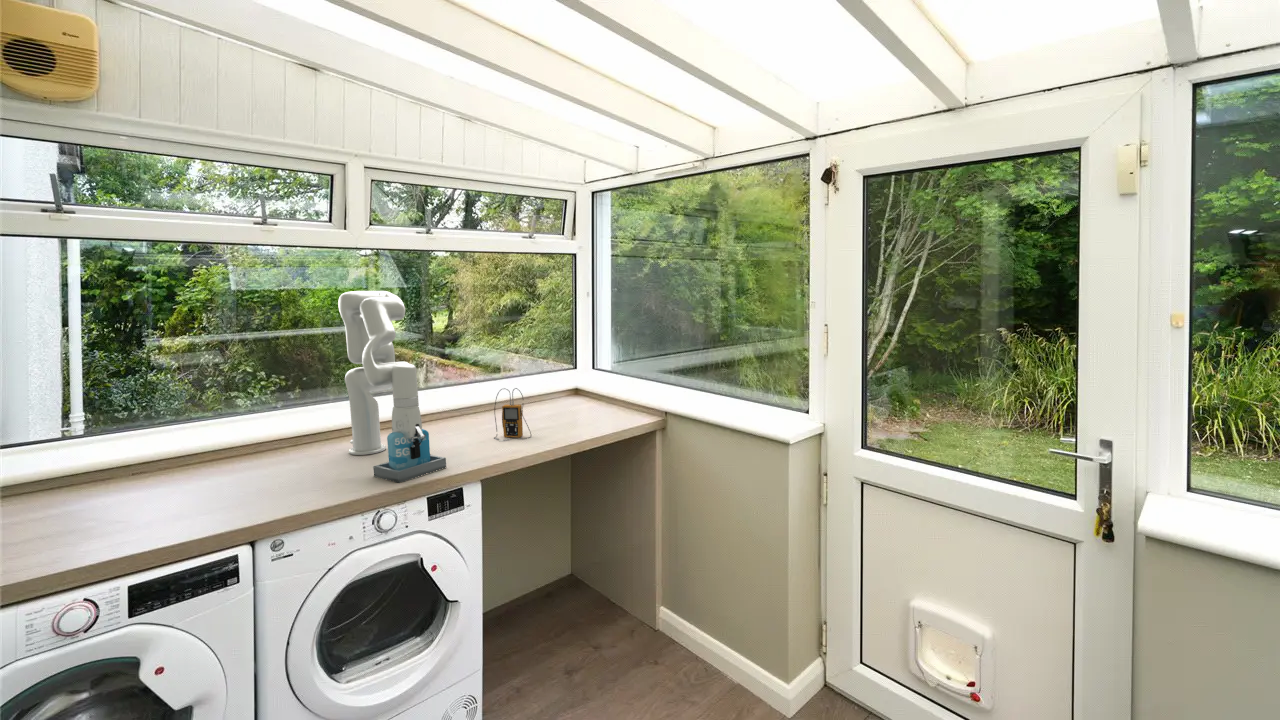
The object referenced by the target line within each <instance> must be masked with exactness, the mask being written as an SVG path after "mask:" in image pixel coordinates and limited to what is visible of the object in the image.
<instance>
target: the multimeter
mask: <svg viewBox="0 0 1280 720" xmlns="http://www.w3.org/2000/svg"><path fill="white" fill-rule="evenodd" d="M502 390H503V388H501V389H500V390H499V391H498V392H497V394H496V397H495V402H494V406H496V405H497V399H498V396H499V393H500V392H501V391H502ZM505 390H506V391H508V392H509V394H511V395H509V404H504V405H502V406H501V408H502V409H501V410H502V412H501V424H502V425H501V426H502V429H503V437H504V438H505V439H500V438H498V435H496V436H494V437H493V439H494V440H496V441H501V442H506V441H509V440H519V439H521V437H522V436H524V431H523V420H524V422H525V424H526V427H527V428H528V431H529V433H530V435H532V431H531V430H530V427H529V425H528V423H527V420H526V418H525V417H524V414H523V412H524V411H523V410H524V405H523V404H522V405H521V404H515V403H514V391H515V390H517V391H519V392H520V394H521V396H522V399H524V395H523V393H522V391H521V390H520V389H518V388H517V387H514V388H513V389H512V393H511V392H510V390H509V389H507V388H505ZM511 396H512V397H511ZM494 414H496V408H494ZM494 421H495V423H497V418H496V416H494ZM495 429H496V431H498V425H497V424H495ZM506 437H507V438H506ZM527 438H528V439H530V438H531V436H528V437H524V438H523V440H527Z"/></svg>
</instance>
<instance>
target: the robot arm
mask: <svg viewBox="0 0 1280 720" xmlns="http://www.w3.org/2000/svg"><path fill="white" fill-rule="evenodd" d="M337 306H338V311H339V314H340V317H341V319H342V321H343V324H344V328H345V338H346V350H347V358H348V360H349V362H350V363H353V364H358V365H359V364H361V365H362V366H360V367H359V366H358V367H355V368H351V369H349V370H348V371H347V372H346V373H345V376H344V383H345V386H346V390H347V394H348V399H349V408H350V420H351V433H352V439H351V440H350V441H349V443H350V444H352V447H351V448H349V449H348V453H349V454H350V455H353V456H367V455H372V454H377V453H381V452H383V451H385V450H386V449H387V447H386V444H383V443H382V438H381V436H382V435H381V422H380V410H379V403H378V401H377V399H376V398H375V397H374V396H373V395H372V394H371V393H374V392H381V391H388V390H392V398H393V399H392V400H393V402H392V403H393V407H392V411H391V412H392V413H391V433H392V432H397V433H402V434H403V435H404V438H405V439H410V442H411V446H412V447H410V451H411V459H416V458H419V457H420V445H421V442H422V440H423V439H424V438H425V436H424V435H423V433H422V429H423V424H422V416H421V411H420V410H421V409H420V407H419V391H418V375H417V373H418V371H417V367H416V366H415V364H411V363H409V362H407V361H396V355H395V354H396V353H395V347H394V343H393V341H394V340H395V339H396V336H397V333H396V331H395V327H394V325H393V322H392V321H401V320H403V319H404V318H405V316H406V307H405V305H404V301H402V299H401V298H400V297H399V296H398V295H396V294H394V293H392V292H390V291H387V290H354V291H347V292H346V291H345V292H344V293H343V292H342V294H340V296H339V298H338V305H337ZM414 435H416V436H415V437H414ZM414 439H416V440H415V442H414Z"/></svg>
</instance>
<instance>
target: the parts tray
mask: <svg viewBox="0 0 1280 720" xmlns="http://www.w3.org/2000/svg"><path fill="white" fill-rule="evenodd" d="M446 460H447V458H446V457H444V456H438V455H433V454H430V462H427V463H423V464H420V465H417V466H413V467H410V468H407V469H403V470H400V471H398V470H394V469H392V468H390V466H389V461H387V462H384V463H380V464H376V465H373V467H372V468H373V477H374V478H377V477H378V479H381V478H382V479H383V480H385V479H387V480H386V481H389V480H391V481H390V482H393V481H394V483H397V484H400V482H401V483H403V481H404V482H406V480H407V481H409V479H410V480H413V479H416V478H415V477H417V478H419V477H418V476H420V477H422V476H421V475H423V476H425V475H424V474H426V473H429V474H431V473H430V472H432V473H434V472H433V471H435V472H437V471H436V470H438V471H440V470H439V469H442V468H445V467H446V468H447V461H446ZM446 468H445V469H446ZM442 470H443V469H442ZM426 475H427V474H426ZM412 478H413V479H412Z"/></svg>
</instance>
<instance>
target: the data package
mask: <svg viewBox="0 0 1280 720" xmlns="http://www.w3.org/2000/svg"><path fill="white" fill-rule="evenodd" d="M422 433H423V435H424V436H425V438H424V439H423V440H422V442H421V445H420V457H419V458H416V459H411V451H410V447H412V446H411V442H410V439H405V438H404V435H403V434H402V433H397V432H392V431H391V432H390V433H389V434H388V435H387V437H386V441H387V442H386V443H387V453H388V455H387V457H388V462H389V466H390V468H392V469H394V470H398V471H400V470H403V469H407V468H410V467H413V466H417V465H420V464H423V463H427V462H430V455H431V448H430V446H431V445H430V434H429V431H428V430H426V429H424V428H422ZM415 436H416V435H414V437H415ZM415 440H416V439H414V442H415Z"/></svg>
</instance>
